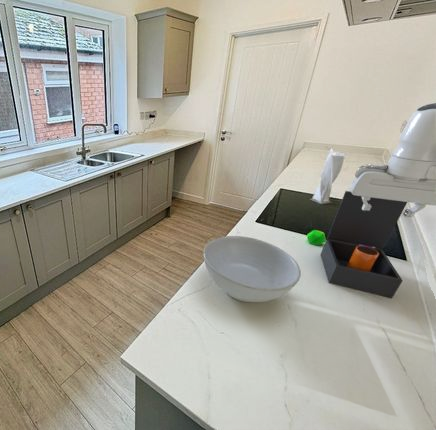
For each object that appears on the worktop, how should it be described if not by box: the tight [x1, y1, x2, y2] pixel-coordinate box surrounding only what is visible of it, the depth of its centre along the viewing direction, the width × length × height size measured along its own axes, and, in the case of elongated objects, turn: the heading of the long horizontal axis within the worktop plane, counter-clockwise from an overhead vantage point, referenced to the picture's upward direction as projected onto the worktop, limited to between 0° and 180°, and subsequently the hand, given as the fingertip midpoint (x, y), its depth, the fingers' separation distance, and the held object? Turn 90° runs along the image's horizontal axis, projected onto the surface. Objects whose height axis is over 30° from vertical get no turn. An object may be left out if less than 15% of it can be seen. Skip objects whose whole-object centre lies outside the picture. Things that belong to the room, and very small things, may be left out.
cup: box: [347, 246, 379, 272], centre depth 85 cm, size 6×6×11 cm
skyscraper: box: [309, 147, 346, 205], centre depth 138 cm, size 8×8×28 cm
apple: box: [306, 229, 327, 246], centre depth 107 cm, size 7×6×9 cm
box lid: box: [326, 190, 408, 250], centre depth 89 cm, size 18×16×1 cm
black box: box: [320, 238, 403, 299], centre depth 88 cm, size 18×16×8 cm
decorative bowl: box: [203, 235, 302, 303], centre depth 83 cm, size 27×27×12 cm
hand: (385, 213), depth 77 cm, fingers open, 8 cm apart
